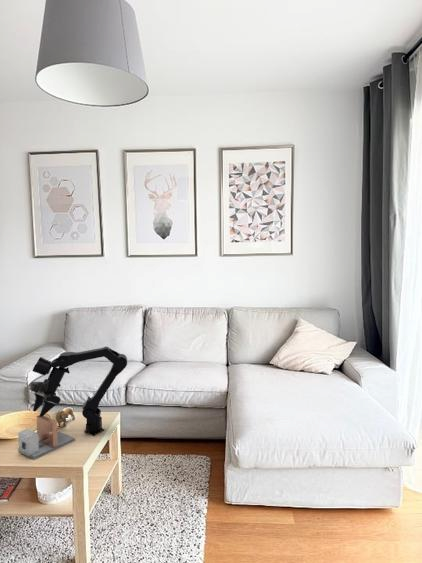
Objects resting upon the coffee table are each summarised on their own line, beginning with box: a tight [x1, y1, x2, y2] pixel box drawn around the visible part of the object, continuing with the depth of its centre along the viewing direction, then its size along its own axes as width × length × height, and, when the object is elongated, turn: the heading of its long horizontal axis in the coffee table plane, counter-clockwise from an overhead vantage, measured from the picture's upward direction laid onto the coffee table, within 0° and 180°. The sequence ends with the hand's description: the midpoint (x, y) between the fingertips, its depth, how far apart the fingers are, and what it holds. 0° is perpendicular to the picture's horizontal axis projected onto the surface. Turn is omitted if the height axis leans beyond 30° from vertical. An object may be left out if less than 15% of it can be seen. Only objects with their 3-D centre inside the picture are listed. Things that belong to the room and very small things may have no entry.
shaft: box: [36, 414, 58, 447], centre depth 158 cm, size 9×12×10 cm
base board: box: [17, 430, 76, 461], centre depth 161 cm, size 19×12×1 cm, turn 146°
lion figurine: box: [55, 407, 76, 428], centre depth 183 cm, size 15×5×9 cm, turn 178°
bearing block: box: [17, 428, 39, 457], centre depth 154 cm, size 4×8×8 cm, turn 56°
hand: (37, 413), depth 163 cm, fingers open, 9 cm apart
